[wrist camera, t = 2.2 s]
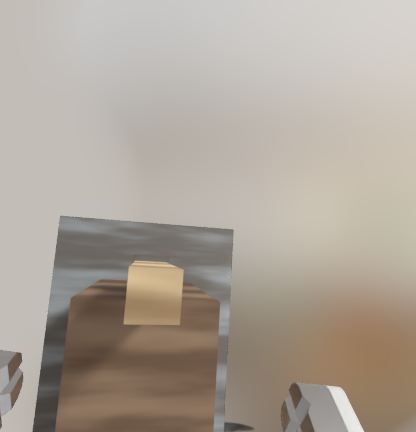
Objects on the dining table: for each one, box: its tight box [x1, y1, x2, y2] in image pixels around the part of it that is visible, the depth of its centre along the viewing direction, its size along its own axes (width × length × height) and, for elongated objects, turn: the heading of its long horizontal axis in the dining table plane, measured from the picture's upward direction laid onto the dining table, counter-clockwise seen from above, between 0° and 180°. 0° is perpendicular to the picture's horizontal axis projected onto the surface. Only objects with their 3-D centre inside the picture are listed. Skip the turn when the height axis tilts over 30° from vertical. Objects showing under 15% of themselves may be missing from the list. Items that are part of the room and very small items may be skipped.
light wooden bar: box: [124, 254, 184, 325], centre depth 24 cm, size 16×4×4 cm, turn 12°
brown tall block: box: [33, 216, 233, 432], centre depth 32 cm, size 19×24×34 cm
